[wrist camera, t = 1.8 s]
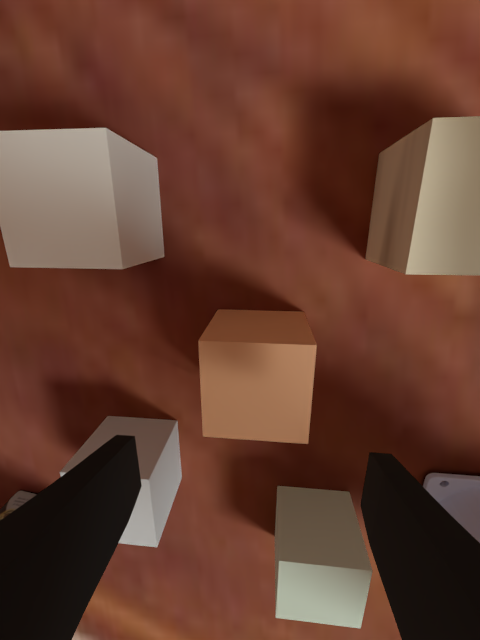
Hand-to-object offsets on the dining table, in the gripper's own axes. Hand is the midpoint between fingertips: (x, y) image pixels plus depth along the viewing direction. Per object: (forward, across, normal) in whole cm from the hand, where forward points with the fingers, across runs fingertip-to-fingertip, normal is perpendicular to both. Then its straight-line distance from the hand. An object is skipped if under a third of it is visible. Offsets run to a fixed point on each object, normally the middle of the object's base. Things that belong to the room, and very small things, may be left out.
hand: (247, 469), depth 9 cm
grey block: (+9, +8, +8) cm, 15 cm away
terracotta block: (+9, 0, 0) cm, 9 cm away
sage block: (+9, -4, +13) cm, 17 cm away
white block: (+9, +8, -8) cm, 15 cm away
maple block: (+9, -8, -8) cm, 15 cm away
